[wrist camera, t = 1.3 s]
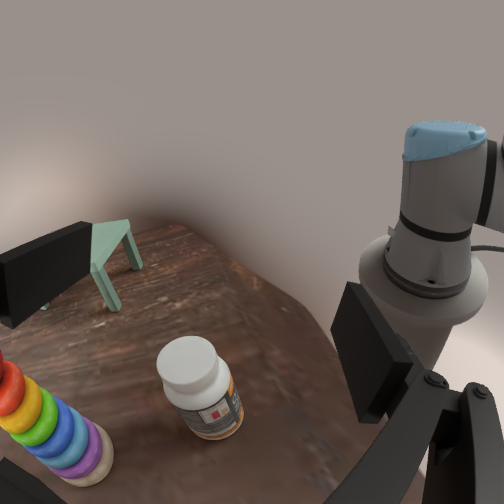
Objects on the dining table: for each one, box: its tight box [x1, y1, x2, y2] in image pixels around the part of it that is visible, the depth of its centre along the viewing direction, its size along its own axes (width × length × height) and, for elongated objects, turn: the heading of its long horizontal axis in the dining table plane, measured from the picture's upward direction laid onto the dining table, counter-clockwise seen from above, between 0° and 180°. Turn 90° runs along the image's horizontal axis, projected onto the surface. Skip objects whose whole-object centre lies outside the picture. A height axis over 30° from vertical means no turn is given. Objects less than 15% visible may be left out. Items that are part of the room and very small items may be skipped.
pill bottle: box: [157, 336, 244, 440], centre depth 24 cm, size 6×6×10 cm
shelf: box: [40, 219, 143, 312], centre depth 45 cm, size 18×12×9 cm, turn 87°
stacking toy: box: [0, 350, 114, 487], centre depth 18 cm, size 8×8×19 cm
